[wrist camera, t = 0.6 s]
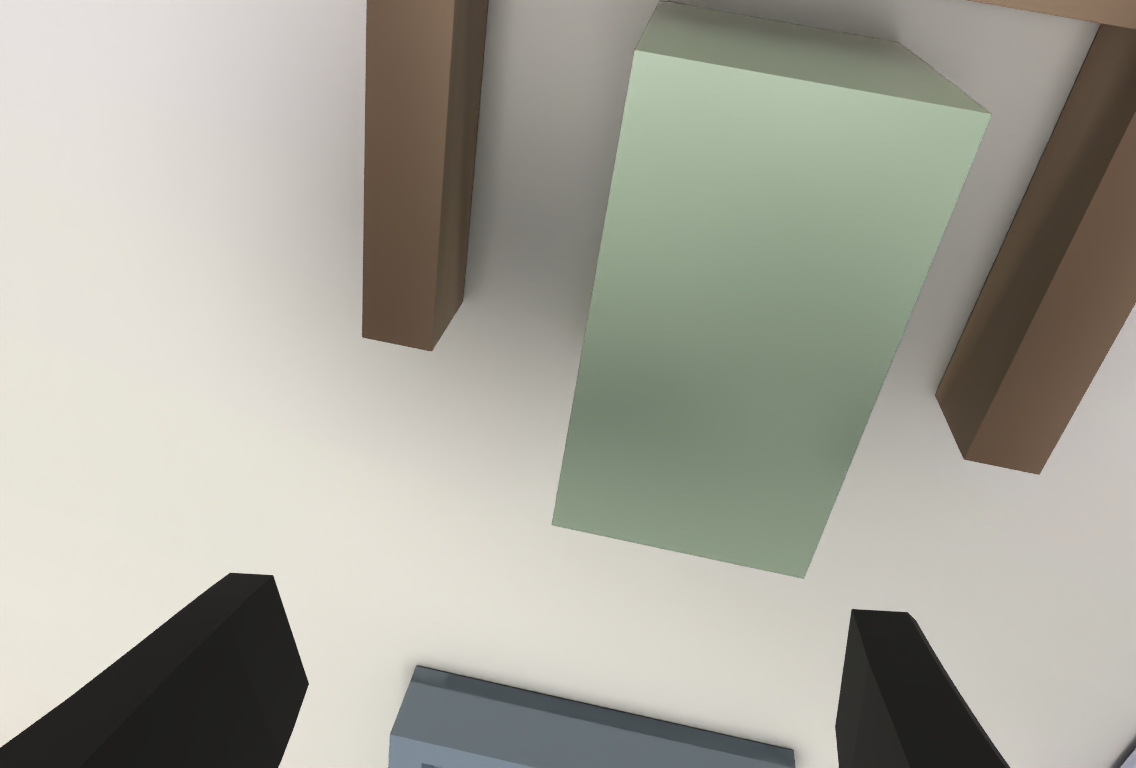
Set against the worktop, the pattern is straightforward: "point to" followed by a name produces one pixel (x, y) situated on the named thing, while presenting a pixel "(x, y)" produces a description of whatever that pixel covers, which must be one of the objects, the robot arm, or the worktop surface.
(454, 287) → the holder
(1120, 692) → the worktop surface
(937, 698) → the robot arm
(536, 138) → the worktop surface
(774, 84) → the tall sage green block
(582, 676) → the worktop surface
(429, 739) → the tray
